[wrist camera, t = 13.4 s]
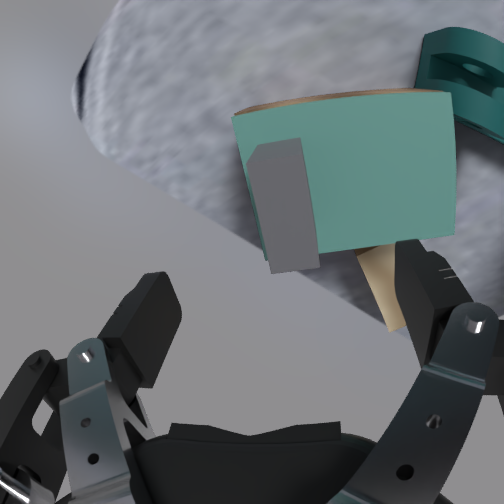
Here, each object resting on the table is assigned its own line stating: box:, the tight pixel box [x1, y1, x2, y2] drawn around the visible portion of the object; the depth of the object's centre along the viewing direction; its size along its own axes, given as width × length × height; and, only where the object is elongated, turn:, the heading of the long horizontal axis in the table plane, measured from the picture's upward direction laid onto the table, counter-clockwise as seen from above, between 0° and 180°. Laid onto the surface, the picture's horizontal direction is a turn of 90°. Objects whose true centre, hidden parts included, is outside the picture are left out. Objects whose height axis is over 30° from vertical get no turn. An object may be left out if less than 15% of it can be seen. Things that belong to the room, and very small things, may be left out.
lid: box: [231, 92, 456, 274], centre depth 17 cm, size 14×10×7 cm
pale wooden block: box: [354, 243, 406, 332], centre depth 29 cm, size 4×10×4 cm, turn 31°
